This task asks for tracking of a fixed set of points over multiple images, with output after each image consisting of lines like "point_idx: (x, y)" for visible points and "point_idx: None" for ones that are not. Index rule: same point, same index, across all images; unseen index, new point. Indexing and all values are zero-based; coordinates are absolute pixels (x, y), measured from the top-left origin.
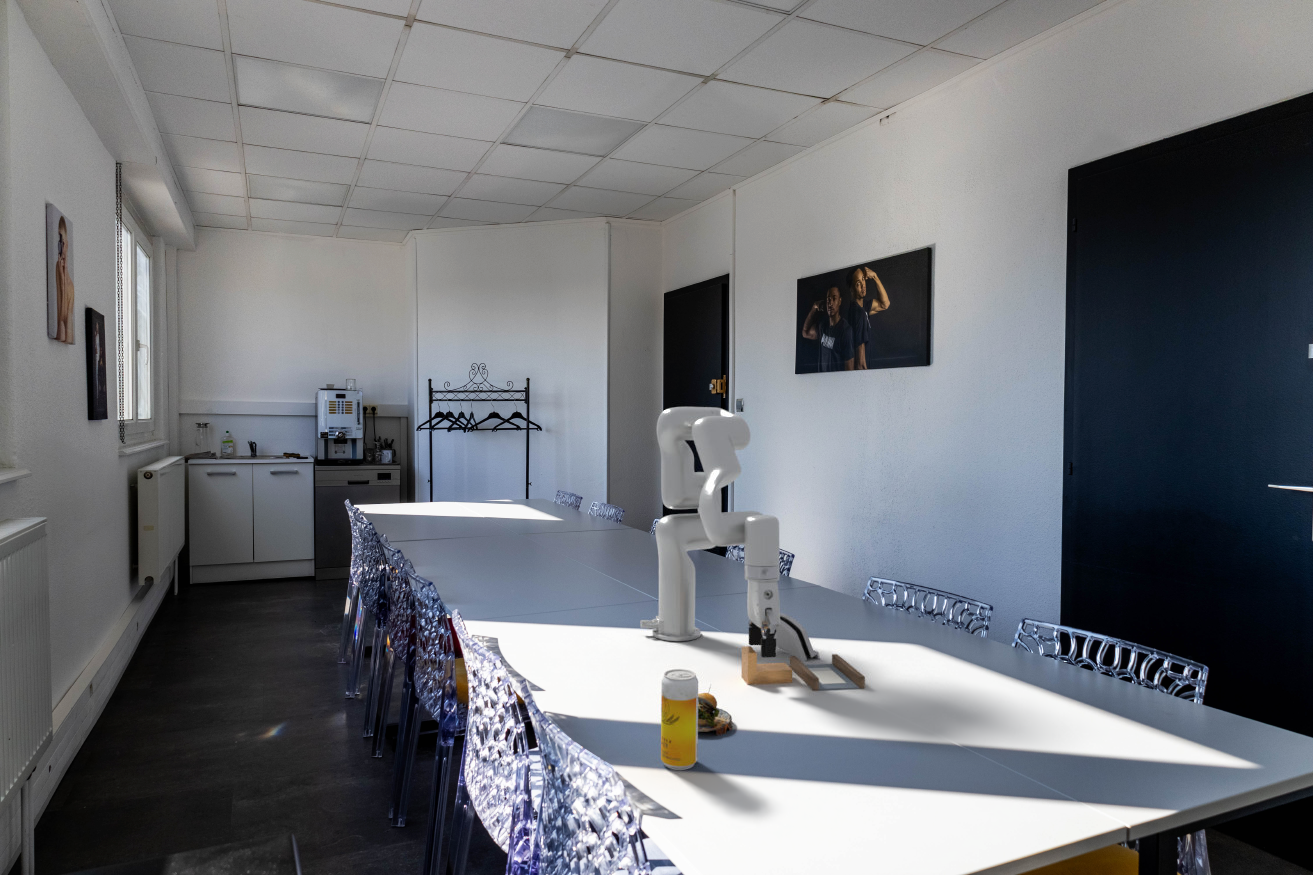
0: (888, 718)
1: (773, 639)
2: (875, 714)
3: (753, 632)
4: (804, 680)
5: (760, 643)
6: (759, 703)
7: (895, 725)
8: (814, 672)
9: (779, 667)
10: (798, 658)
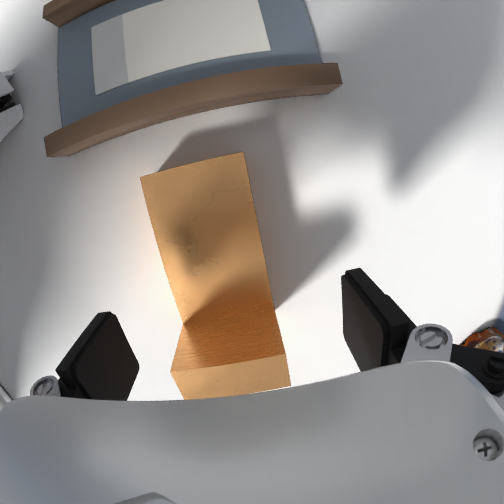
0: (470, 14)
1: (402, 333)
2: (460, 23)
3: (113, 398)
4: (229, 105)
5: (116, 326)
6: (420, 281)
7: (491, 26)
8: (139, 65)
9: (214, 208)
10: (9, 131)
